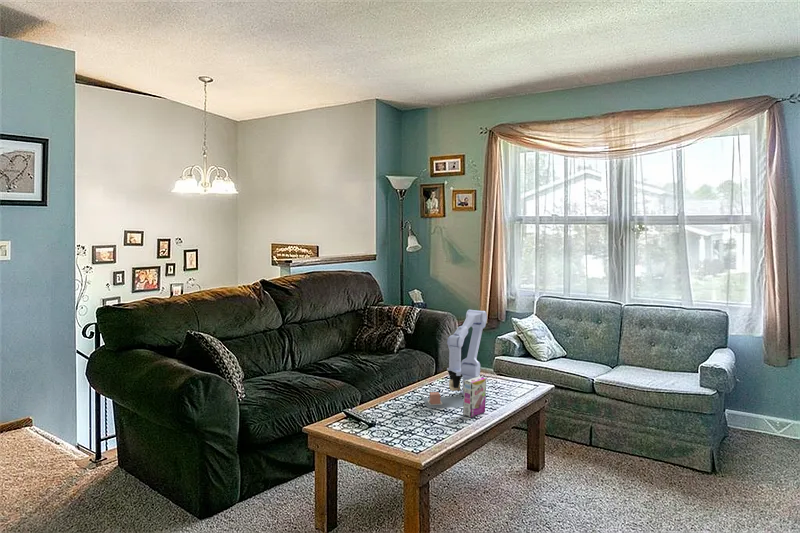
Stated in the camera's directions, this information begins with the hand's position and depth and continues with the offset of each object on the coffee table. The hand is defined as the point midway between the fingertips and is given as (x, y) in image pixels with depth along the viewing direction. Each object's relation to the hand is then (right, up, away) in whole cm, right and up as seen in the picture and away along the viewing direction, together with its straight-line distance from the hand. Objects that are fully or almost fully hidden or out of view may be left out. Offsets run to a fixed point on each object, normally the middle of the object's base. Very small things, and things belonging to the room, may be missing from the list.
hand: (454, 386), depth 274 cm
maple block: (0, -2, 0) cm, 2 cm away
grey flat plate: (-5, -8, 0) cm, 9 cm away
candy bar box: (+8, -10, -16) cm, 20 cm away
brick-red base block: (-10, -8, -1) cm, 13 cm away
